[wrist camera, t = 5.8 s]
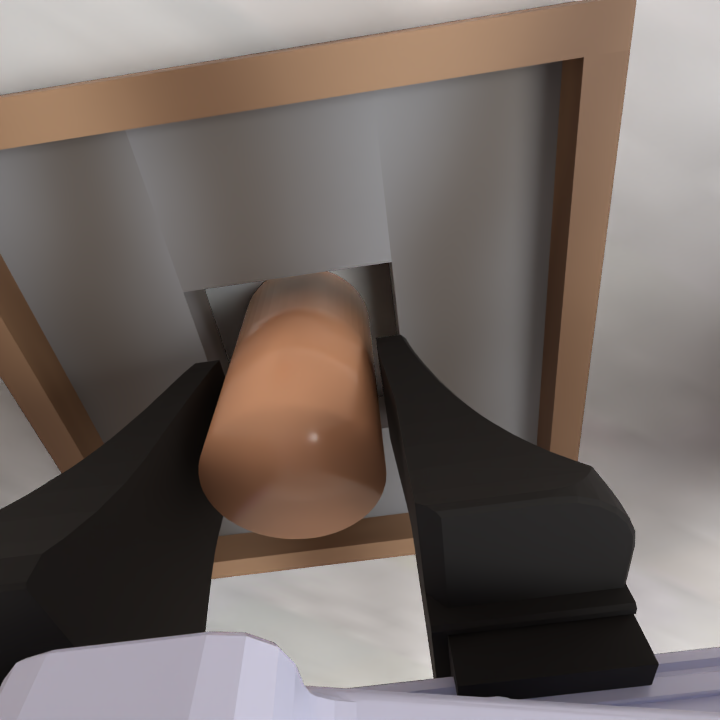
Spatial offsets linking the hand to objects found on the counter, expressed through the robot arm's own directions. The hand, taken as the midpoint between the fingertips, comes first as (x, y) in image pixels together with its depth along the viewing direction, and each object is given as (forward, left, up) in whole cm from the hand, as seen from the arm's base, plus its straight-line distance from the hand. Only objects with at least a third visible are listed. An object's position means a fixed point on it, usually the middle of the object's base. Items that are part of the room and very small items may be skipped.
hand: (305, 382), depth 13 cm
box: (0, 0, -2) cm, 2 cm away
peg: (0, 0, -2) cm, 3 cm away
